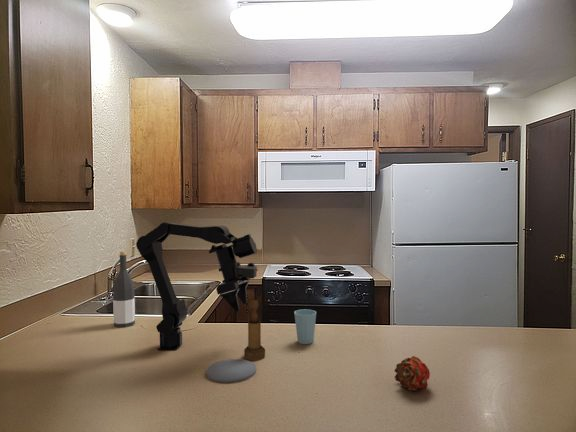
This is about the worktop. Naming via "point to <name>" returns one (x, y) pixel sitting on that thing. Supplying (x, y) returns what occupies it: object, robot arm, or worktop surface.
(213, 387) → the worktop surface
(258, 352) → the wooden pepper mill
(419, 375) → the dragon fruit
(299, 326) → the cup
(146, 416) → the worktop surface
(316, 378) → the worktop surface
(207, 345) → the worktop surface
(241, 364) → the mat
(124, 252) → the wine bottle
